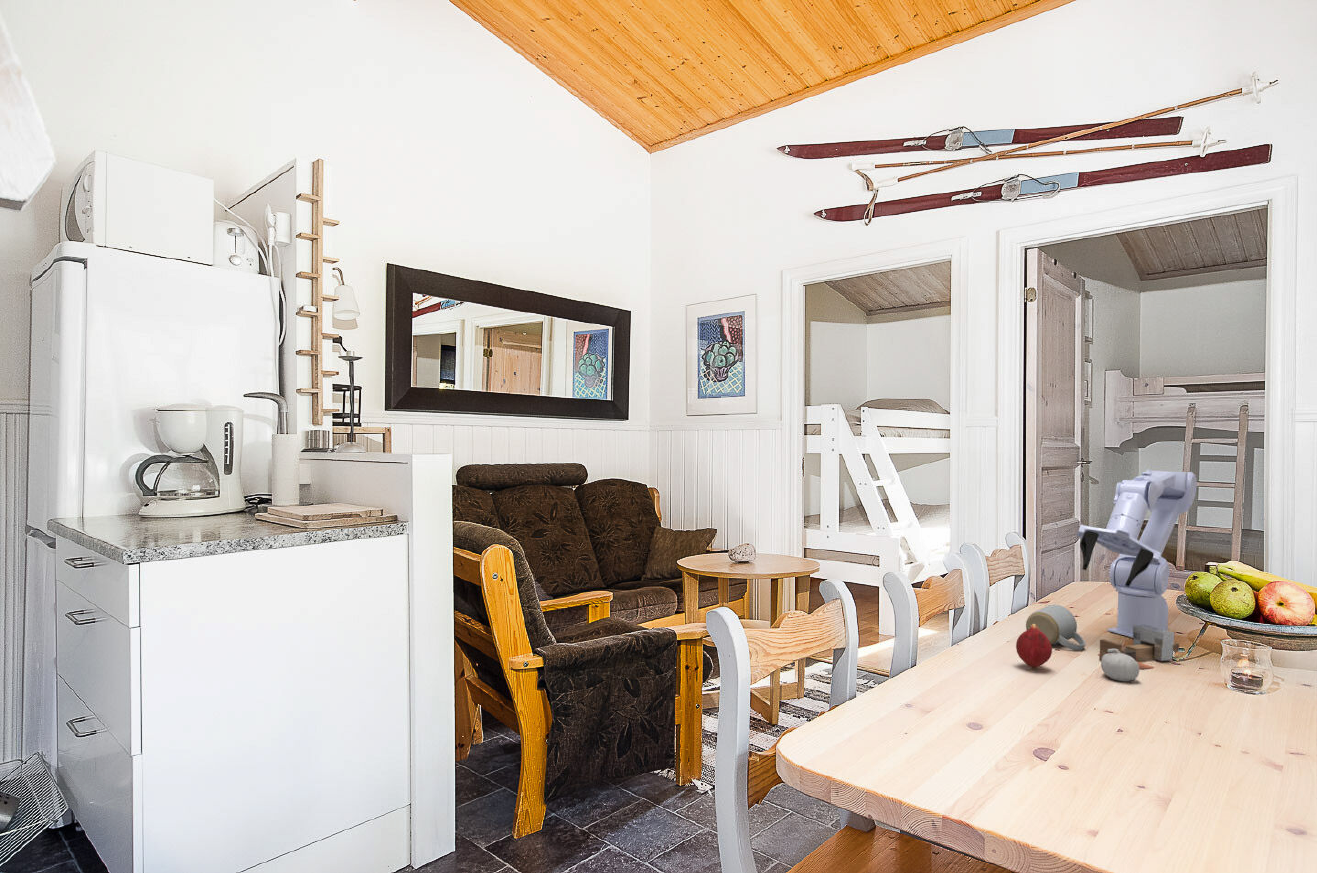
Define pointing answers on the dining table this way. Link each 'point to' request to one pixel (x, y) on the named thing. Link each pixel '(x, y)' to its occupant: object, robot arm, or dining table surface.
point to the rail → (1133, 651)
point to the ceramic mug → (1057, 626)
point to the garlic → (1119, 666)
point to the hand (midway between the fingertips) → (1106, 575)
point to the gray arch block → (1155, 640)
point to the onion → (1034, 647)
